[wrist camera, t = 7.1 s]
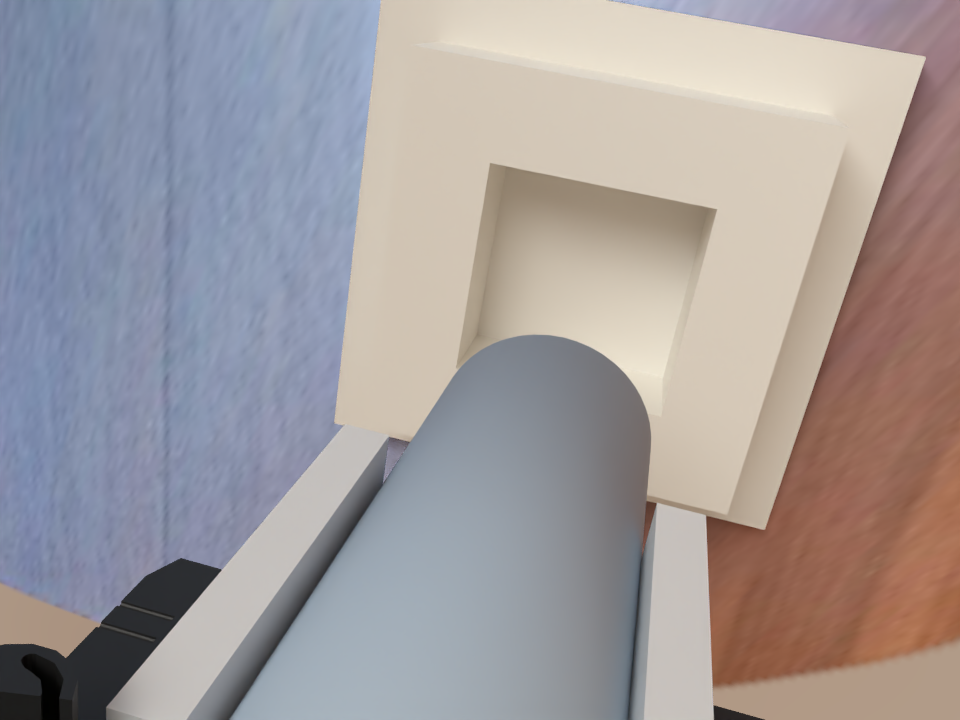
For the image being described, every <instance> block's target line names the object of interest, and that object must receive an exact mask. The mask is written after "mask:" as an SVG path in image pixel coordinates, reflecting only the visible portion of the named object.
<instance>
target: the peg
mask: <svg viewBox="0 0 960 720" xmlns="http://www.w3.org/2000/svg"><path fill="white" fill-rule="evenodd" d="M650 452H651V429H650V422H649V418H648V414H647V410H646V408H645V405H644V403H643V400H642V398H641V396H640V394H639V393H638V391H637V389H636V387H635V386H634V384H633V383H632V382H631V380H630V379H629V378H628V377H627V375H626V374H625V373H624V372H623V371H622V370H621V369H620V368H619V367H618V366H617V365H616V364H615V363H614V362H612V361H611V360H610V359H608V358H607V357H606V356H604V355H603V354H601V353H600V352H598V351H596V350H595V349H593V348H591V347H589V346H586V345H584V344H582V343H580V342H577V341H574V340H570V339H567V338H564V337H558V336H552V335H535V334H534V335H522V336H516V337H512V338H507V339H504V340H501V341H499V342H496V343H493V344H491V345H489V346H487V347H486V348H484V349H482V350H480V351H479V352H477V353H476V354H475V355H473V356H472V357H470V358H469V359H468V360H467V361H466V362H465V363H464V364H463V365H462V366H461V367H460V369H459V370H458V371H457V372H456V374H455V375H454V376H453V378H452V379H451V381H450V382H449V384H448V385H447V387H446V388H445V390H444V391H443V393H442V394H441V396H440V398H439V399H438V401H437V402H436V404H435V405H434V407H433V408H432V410H431V411H430V413H429V414H428V416H427V417H426V419H425V421H424V422H423V424H422V425H421V427H420V428H419V430H418V431H417V433H416V434H415V436H414V437H413V439H412V440H411V442H410V443H409V445H408V447H407V448H406V450H405V451H404V453H403V454H402V456H401V457H400V459H399V460H398V462H397V463H396V465H395V466H394V468H393V469H392V471H391V473H390V474H389V476H388V477H387V479H386V480H385V482H384V483H383V485H382V486H381V488H380V489H379V491H378V492H377V494H376V495H375V497H374V499H373V500H372V502H371V503H370V505H369V506H368V508H367V509H366V511H365V512H364V514H363V515H362V517H361V518H360V520H359V522H358V523H357V525H356V526H355V528H354V529H353V531H352V532H351V534H350V535H349V537H348V538H347V540H346V541H345V543H344V544H343V546H342V548H341V549H340V551H339V552H338V554H337V555H336V557H335V558H334V560H333V561H332V563H331V564H330V566H329V567H328V569H327V570H326V572H325V574H324V575H323V577H322V578H321V580H320V581H319V583H318V584H317V586H316V587H315V589H314V590H313V592H312V593H311V595H310V597H309V598H308V600H307V601H306V603H305V604H304V606H303V607H302V609H301V610H300V612H299V613H298V615H297V616H296V618H295V619H294V621H293V623H292V624H291V626H290V627H289V629H288V630H287V632H286V633H285V635H284V636H283V638H282V639H281V641H280V642H279V644H278V645H277V647H276V649H275V650H274V652H273V653H272V655H271V656H270V658H269V659H268V661H267V662H266V664H265V665H264V667H263V668H262V670H261V671H260V673H259V675H258V676H257V678H256V679H255V681H254V682H253V684H252V685H251V687H250V688H249V690H248V691H247V693H246V694H245V696H244V698H243V699H242V701H241V702H240V704H239V705H238V707H237V708H236V710H235V711H234V713H233V714H232V716H231V717H230V719H229V720H628V712H629V700H630V688H631V676H632V665H633V653H634V641H635V629H636V617H637V605H638V593H639V581H640V569H641V559H642V548H643V536H644V524H645V512H646V500H647V488H648V476H649V464H650Z"/></svg>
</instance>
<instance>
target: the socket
mask: <svg viewBox="0 0 960 720" xmlns="http://www.w3.org/2000/svg"><path fill="white" fill-rule="evenodd" d="M925 59H926V57H924V56H918V55H912V54H907V53H901V52H896V51H890V50H884V49H879V48H873V47H867V46H862V45H856V44H850V43H845V42H839V41H834V40H828V39H822V38H817V37H811V36H805V35H800V34H794V33H788V32H783V31H777V30H772V29H766V28H760V27H755V26H749V25H743V24H738V23H732V22H726V21H721V20H715V19H710V18H704V17H698V16H693V15H687V14H681V13H676V12H670V11H665V10H659V9H653V8H648V7H642V6H636V5H631V4H625V3H619V2H614V1H608V0H381V5H380V14H379V23H378V32H377V41H376V50H375V59H374V68H373V77H372V86H371V95H370V104H369V113H368V122H367V132H366V141H365V150H364V159H363V168H362V177H361V186H360V195H359V204H358V213H357V222H356V231H355V240H354V249H353V258H352V267H351V276H350V285H349V294H348V303H347V312H346V321H345V330H344V339H343V348H342V357H341V366H340V375H339V384H338V393H337V403H336V412H335V421H334V423H336V424H340V425H345V424H347V425H351V426H355V427H359V428H363V429H367V430H371V431H375V432H378V433H382V434H386V435H389V437H392V438H396V439H400V440H404V441H408V442H411V440H412V439H413V437H414V436H415V434H416V433H417V431H418V430H419V428H420V427H421V425H422V424H423V422H424V421H425V419H426V417H427V416H428V414H429V413H430V411H431V410H432V408H433V407H434V405H435V404H436V402H437V401H438V399H439V398H440V396H441V394H442V393H443V391H444V390H445V388H446V387H447V385H448V384H449V382H450V381H451V379H452V378H453V376H454V375H455V374H456V372H457V371H458V370H459V369H460V367H461V366H462V365H463V364H464V363H465V362H466V361H467V360H468V359H469V358H470V357H472V356H473V355H475V354H476V353H477V352H479V351H480V350H482V349H484V348H486V347H487V346H489V345H491V344H493V343H496V342H499V341H501V340H504V339H507V338H512V337H516V336H522V335H534V334H535V335H552V336H558V337H564V338H567V339H570V340H574V341H577V342H580V343H582V344H584V345H586V346H589V347H591V348H593V349H595V350H596V351H598V352H600V353H601V354H603V355H604V356H606V357H607V358H608V359H610V360H611V361H612V362H614V363H615V364H616V365H617V366H618V367H619V368H620V369H621V370H622V371H623V372H624V373H625V374H626V375H627V377H628V378H629V379H630V380H631V382H632V383H633V384H634V386H635V387H636V389H637V391H638V393H639V394H640V396H641V398H642V400H643V403H644V405H645V408H646V410H647V414H648V418H649V422H650V429H651V452H650V464H649V476H648V488H647V500H646V501H650V502H654V503H660V504H664V505H667V506H671V507H675V508H679V509H683V510H687V511H691V512H695V513H699V514H703V515H706V516H710V517H714V518H718V519H722V520H726V521H730V522H734V523H738V524H742V525H746V526H750V527H754V528H758V529H762V530H765V528H766V525H767V522H768V519H769V516H770V513H771V510H772V507H773V504H774V501H775V498H776V495H777V492H778V489H779V487H780V484H781V481H782V478H783V475H784V472H785V469H786V466H787V463H788V460H789V457H790V454H791V451H792V448H793V446H794V443H795V440H796V437H797V434H798V431H799V428H800V425H801V422H802V419H803V416H804V413H805V410H806V407H807V405H808V402H809V399H810V396H811V393H812V390H813V387H814V384H815V381H816V378H817V375H818V372H819V369H820V366H821V363H822V361H823V358H824V355H825V352H826V349H827V346H828V343H829V340H830V337H831V334H832V331H833V328H834V325H835V322H836V320H837V317H838V314H839V311H840V308H841V305H842V302H843V299H844V296H845V293H846V290H847V287H848V284H849V281H850V278H851V276H852V273H853V270H854V267H855V264H856V261H857V258H858V255H859V252H860V249H861V246H862V243H863V240H864V237H865V235H866V232H867V229H868V226H869V223H870V220H871V217H872V214H873V211H874V208H875V205H876V202H877V199H878V196H879V193H880V191H881V188H882V185H883V182H884V179H885V176H886V173H887V170H888V167H889V164H890V161H891V158H892V155H893V152H894V150H895V147H896V144H897V141H898V138H899V135H900V132H901V129H902V126H903V123H904V120H905V117H906V114H907V111H908V108H909V106H910V103H911V100H912V97H913V94H914V91H915V88H916V85H917V82H918V79H919V76H920V73H921V70H922V67H923V65H924V62H925Z"/></svg>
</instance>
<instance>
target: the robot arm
mask: <svg viewBox="0 0 960 720" xmlns="http://www.w3.org/2000/svg"><path fill="white" fill-rule="evenodd" d="M388 442H389V435H386V434H382V433H378V432H375V431H371V430H367V429H363V428H359V427H355V426H351V425H347V424H345V425H344V426H343V427H342V428H341V430H340V431H339V432H338V433H337V434H336V435H335V437H334V438H333V439H332V440H331V441H330V443H329V444H328V445H327V446H326V447H325V449H324V450H323V451H322V452H321V453H320V454H319V456H318V457H317V458H316V459H315V460H314V462H313V463H312V464H311V465H310V466H309V468H308V469H307V470H306V471H305V472H304V473H303V475H302V476H301V477H300V478H299V479H298V481H297V482H296V483H295V484H294V485H293V486H292V488H291V489H290V490H289V491H288V492H287V494H286V495H285V496H284V497H283V498H282V500H281V501H280V502H279V503H278V504H277V505H276V507H275V508H274V509H273V510H272V511H271V513H270V514H269V515H268V516H267V517H266V518H265V520H264V521H263V522H262V523H261V524H260V526H259V527H258V528H257V529H256V530H255V532H254V533H253V534H252V535H251V536H250V537H249V539H248V540H247V541H246V542H245V543H244V545H243V546H242V547H241V548H240V549H239V550H238V552H237V553H236V554H235V555H234V556H233V558H232V559H231V560H230V561H229V562H228V564H227V565H226V566H225V567H224V568H223V569H222V570H221V569H218V568H214V567H211V566H207V565H203V564H200V563H196V562H193V561H189V560H186V559H182V558H180V559H178V560H176V561H174V562H172V563H171V564H169V565H167V566H165V567H163V568H161V569H159V570H157V571H155V572H153V573H151V574H149V575H147V576H145V577H144V578H143V579H142V581H141V582H140V583H139V584H138V585H137V586H136V587H135V588H134V589H133V590H132V591H131V592H130V593H129V594H128V595H127V596H126V597H125V598H124V599H123V600H122V602H121V605H120V606H116V607H115V608H114V609H113V610H112V611H111V612H110V613H109V614H108V616H107V617H106V618H105V619H104V620H103V621H102V622H101V625H100V627H99V628H98V627H96V628H95V629H94V630H93V631H92V632H91V633H90V634H89V635H88V636H87V637H86V638H85V639H84V640H83V641H82V642H81V643H80V644H79V645H78V646H77V647H76V649H74V651H73V652H72V653H71V654H70V655H69V656H68V657H67V658H65V657H64V656H62V655H61V654H60V653H58V652H57V651H56V650H52V649H49V648H45V647H41V646H38V645H34V644H4V645H0V720H229V719H230V717H231V716H232V714H233V713H234V711H235V710H236V708H237V707H238V705H239V704H240V702H241V701H242V699H243V698H244V696H245V694H246V693H247V691H248V690H249V688H250V687H251V685H252V684H253V682H254V681H255V679H256V678H257V676H258V675H259V673H260V671H261V670H262V668H263V667H264V665H265V664H266V662H267V661H268V659H269V658H270V656H271V655H272V653H273V652H274V650H275V649H276V647H277V645H278V644H279V642H280V641H281V639H282V638H283V636H284V635H285V633H286V632H287V630H288V629H289V627H290V626H291V624H292V623H293V621H294V619H295V618H296V616H297V615H298V613H299V612H300V610H301V609H302V607H303V606H304V604H305V603H306V601H307V600H308V598H309V597H310V595H311V593H312V592H313V590H314V589H315V587H316V586H317V584H318V583H319V581H320V580H321V578H322V577H323V575H324V574H325V572H326V570H327V569H328V567H329V566H330V564H331V563H332V561H333V560H334V558H335V557H336V555H337V554H338V552H339V551H340V549H341V548H342V546H343V544H344V543H345V541H346V540H347V538H348V537H349V535H350V534H351V532H352V531H353V529H354V528H355V526H356V525H357V523H358V522H359V520H360V518H361V517H362V515H363V514H364V512H365V511H366V509H367V508H368V506H369V505H370V503H371V502H372V500H373V499H374V497H375V495H376V494H377V492H378V491H379V489H380V488H381V486H382V484H383V477H384V470H385V463H386V456H387V449H388ZM628 720H764V719H760V718H757V717H753V716H750V715H746V714H743V713H739V712H736V711H732V710H728V709H725V708H721V707H718V706H714V705H713V685H712V659H711V633H710V608H709V582H708V556H707V530H706V515H703V514H699V513H695V512H691V511H687V510H683V509H679V508H675V507H671V506H667V505H664V504H660V503H657V505H656V509H655V512H654V516H653V519H652V523H651V526H650V530H649V534H648V537H647V541H646V544H645V548H644V551H643V555H642V559H641V569H640V581H639V593H638V605H637V617H636V629H635V641H634V653H633V665H632V676H631V688H630V700H629V712H628Z"/></svg>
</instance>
